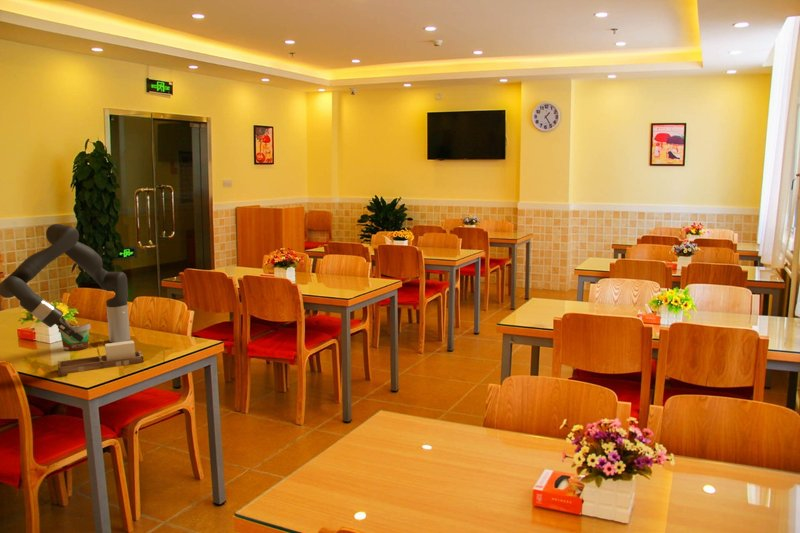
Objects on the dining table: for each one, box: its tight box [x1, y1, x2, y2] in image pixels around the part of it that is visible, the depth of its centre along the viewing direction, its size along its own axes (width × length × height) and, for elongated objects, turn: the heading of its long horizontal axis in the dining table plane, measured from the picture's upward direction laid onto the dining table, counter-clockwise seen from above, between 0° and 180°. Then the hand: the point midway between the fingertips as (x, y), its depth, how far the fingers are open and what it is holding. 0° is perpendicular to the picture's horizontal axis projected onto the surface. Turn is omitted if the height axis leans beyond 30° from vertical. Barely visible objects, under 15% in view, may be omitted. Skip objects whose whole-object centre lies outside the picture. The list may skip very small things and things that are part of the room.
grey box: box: [104, 340, 136, 361], centre depth 287 cm, size 5×11×8 cm, turn 117°
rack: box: [57, 350, 145, 377], centre depth 284 cm, size 11×32×4 cm, turn 117°
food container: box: [58, 321, 92, 352], centre depth 278 cm, size 12×6×10 cm, turn 137°
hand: (81, 337), depth 279 cm, fingers closed on food container, 7 cm apart
